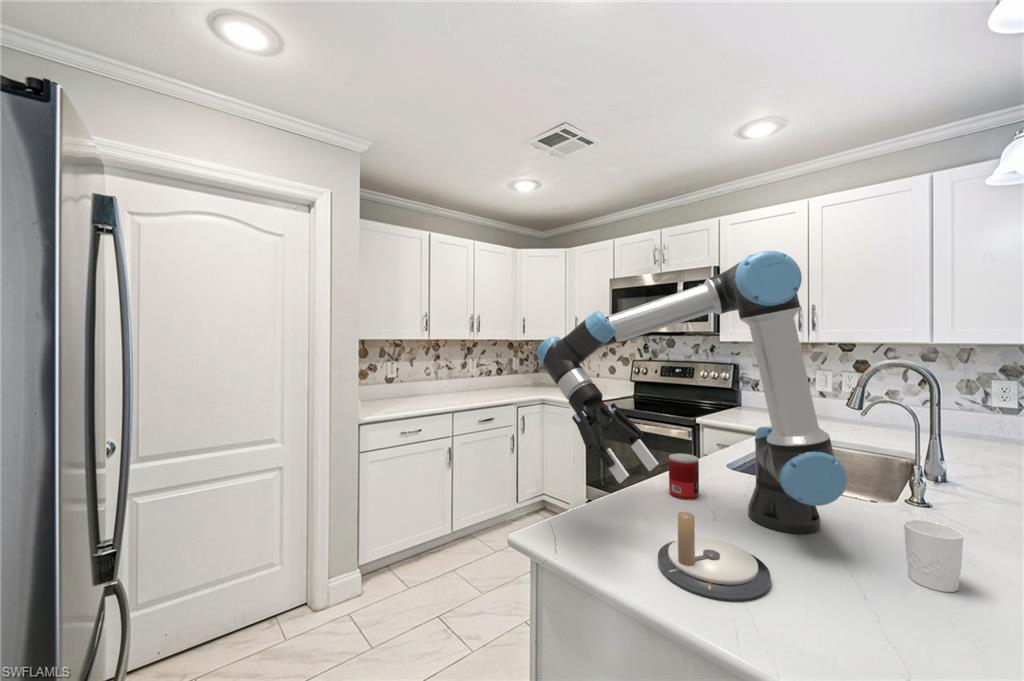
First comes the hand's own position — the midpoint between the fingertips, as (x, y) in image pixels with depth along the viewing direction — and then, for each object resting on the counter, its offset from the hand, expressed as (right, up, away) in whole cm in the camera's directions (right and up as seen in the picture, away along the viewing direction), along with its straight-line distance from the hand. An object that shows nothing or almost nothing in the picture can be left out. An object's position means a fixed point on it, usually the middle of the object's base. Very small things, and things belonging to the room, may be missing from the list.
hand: (639, 473), depth 91 cm
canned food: (+23, -17, +34) cm, 45 cm away
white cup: (+51, -17, -10) cm, 55 cm away
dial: (+12, -16, -5) cm, 21 cm away
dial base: (+13, -17, -5) cm, 22 cm away
